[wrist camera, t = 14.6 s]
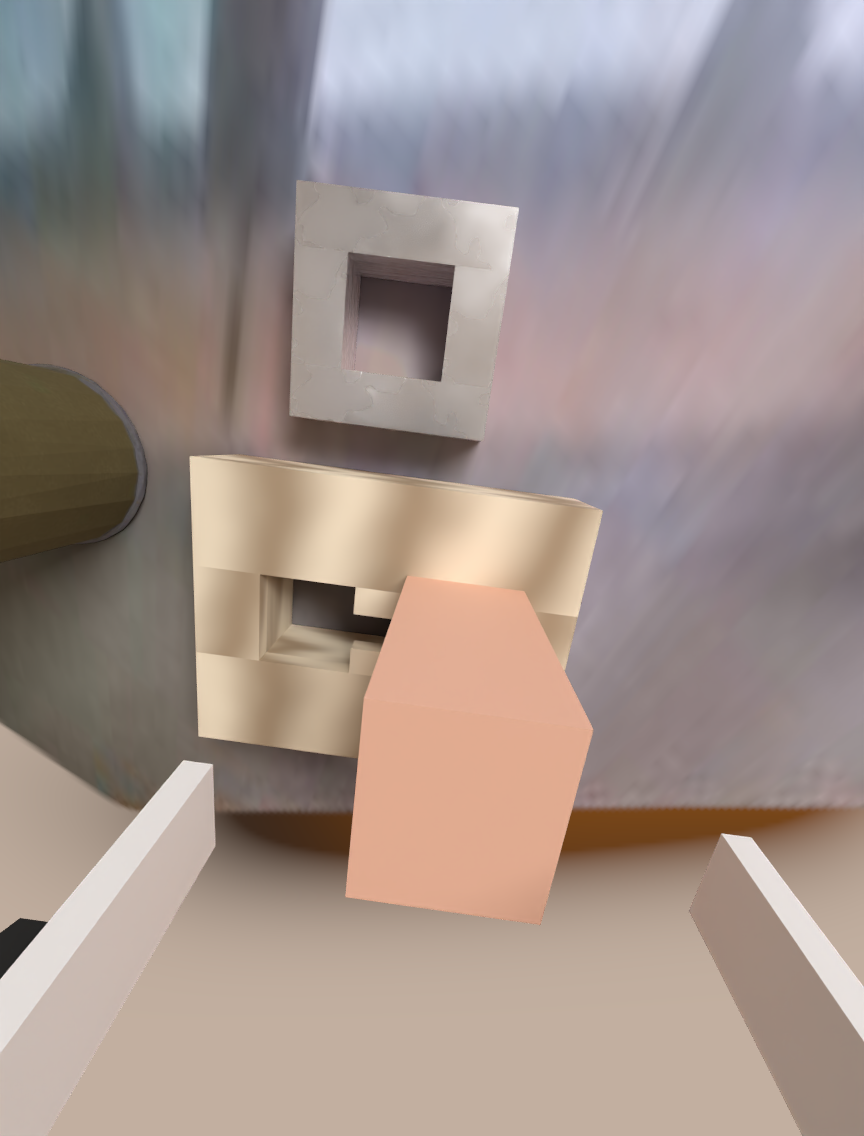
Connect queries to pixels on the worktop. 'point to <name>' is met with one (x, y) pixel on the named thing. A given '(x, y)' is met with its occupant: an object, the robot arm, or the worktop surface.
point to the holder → (403, 253)
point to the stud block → (465, 757)
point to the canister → (63, 461)
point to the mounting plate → (350, 582)
